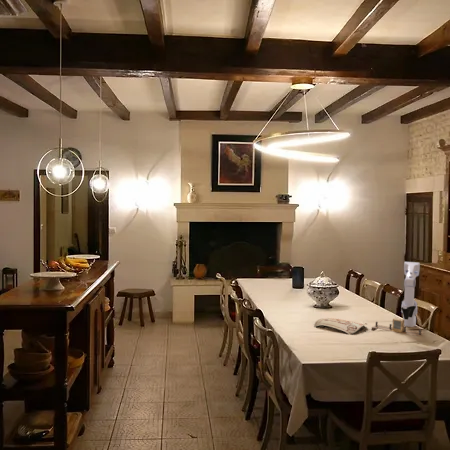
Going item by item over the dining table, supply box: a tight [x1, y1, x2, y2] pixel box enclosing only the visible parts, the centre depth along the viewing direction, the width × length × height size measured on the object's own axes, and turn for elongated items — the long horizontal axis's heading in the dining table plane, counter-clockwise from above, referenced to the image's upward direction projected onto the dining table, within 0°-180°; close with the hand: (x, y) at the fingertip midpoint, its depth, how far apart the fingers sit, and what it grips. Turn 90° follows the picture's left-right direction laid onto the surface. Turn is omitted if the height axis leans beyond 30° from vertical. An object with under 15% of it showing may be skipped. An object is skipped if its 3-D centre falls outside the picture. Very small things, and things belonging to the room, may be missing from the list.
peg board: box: [371, 321, 425, 337], centre depth 323 cm, size 10×30×4 cm, turn 52°
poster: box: [313, 317, 368, 336], centre depth 334 cm, size 28×6×30 cm
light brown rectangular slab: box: [391, 317, 405, 332], centre depth 322 cm, size 4×6×7 cm
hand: (408, 318), depth 322 cm, fingers open, 7 cm apart
